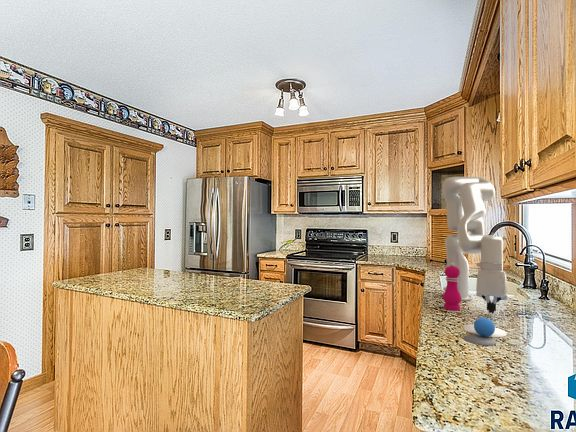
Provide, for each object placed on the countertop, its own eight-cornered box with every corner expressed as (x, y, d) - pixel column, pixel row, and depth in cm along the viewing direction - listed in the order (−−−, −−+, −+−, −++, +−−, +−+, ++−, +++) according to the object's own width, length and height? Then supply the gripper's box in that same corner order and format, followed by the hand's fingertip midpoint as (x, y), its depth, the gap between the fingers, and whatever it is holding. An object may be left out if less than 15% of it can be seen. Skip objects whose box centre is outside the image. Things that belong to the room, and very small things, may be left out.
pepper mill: (457, 306, 145) (457, 261, 145) (464, 311, 138) (464, 263, 138) (440, 306, 146) (440, 261, 146) (446, 310, 139) (446, 263, 139)
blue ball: (468, 319, 109) (470, 327, 112) (481, 334, 104) (482, 342, 108) (485, 311, 108) (486, 320, 112) (499, 326, 104) (499, 334, 107)
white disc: (454, 325, 118) (454, 325, 118) (484, 323, 121) (484, 323, 121) (483, 338, 106) (483, 337, 106) (516, 335, 108) (516, 335, 108)
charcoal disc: (457, 336, 107) (457, 335, 107) (480, 334, 109) (480, 334, 109) (478, 346, 99) (478, 346, 99) (503, 344, 100) (503, 344, 100)
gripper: (469, 266, 133) (468, 311, 133) (513, 269, 124) (513, 318, 123) (471, 264, 139) (471, 307, 138) (514, 267, 130) (514, 314, 129)
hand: (491, 312), depth 131 cm, fingers closed
